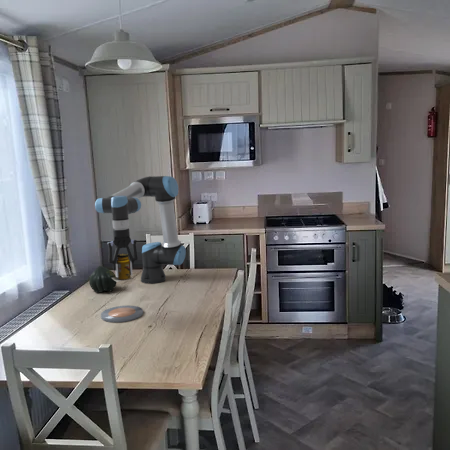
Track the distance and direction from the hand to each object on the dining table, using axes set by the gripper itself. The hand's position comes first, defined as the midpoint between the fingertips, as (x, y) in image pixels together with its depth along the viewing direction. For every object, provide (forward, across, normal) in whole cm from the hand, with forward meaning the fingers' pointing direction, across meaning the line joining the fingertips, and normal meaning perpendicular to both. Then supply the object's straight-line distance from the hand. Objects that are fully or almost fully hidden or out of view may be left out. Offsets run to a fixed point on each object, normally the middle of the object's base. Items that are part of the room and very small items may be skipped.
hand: (124, 275), depth 219 cm
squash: (+19, -5, +45) cm, 49 cm away
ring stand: (+19, -2, 0) cm, 19 cm away
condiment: (+2, -1, 0) cm, 2 cm away
